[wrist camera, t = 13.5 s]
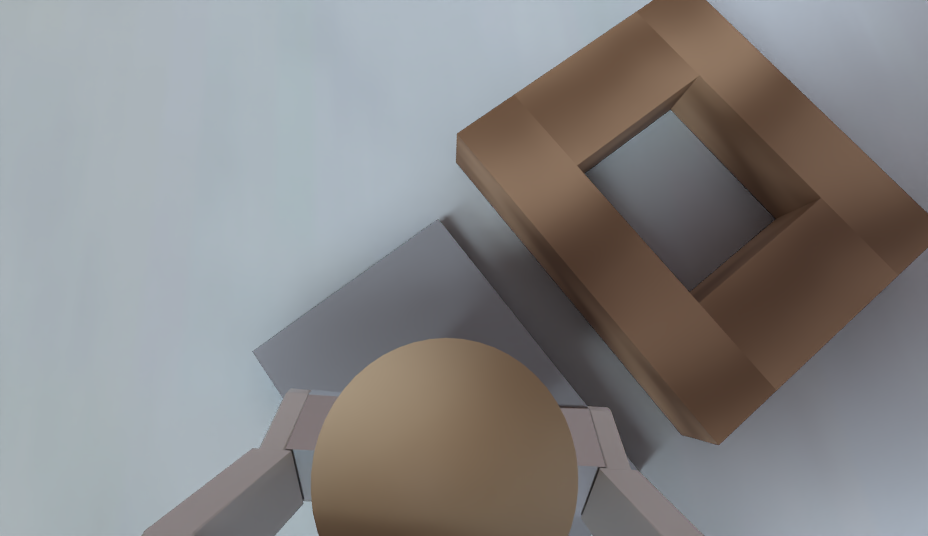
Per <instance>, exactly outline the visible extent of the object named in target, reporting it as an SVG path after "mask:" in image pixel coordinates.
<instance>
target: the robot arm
mask: <svg viewBox="0 0 928 536" xmlns="http://www.w3.org/2000/svg"><path fill="white" fill-rule="evenodd" d="M340 394H341V392H332V391H321V390H306V389H293V388H291V389H290V390H289V391H288V392H287V393H286V394H285V396H284V398H283V400H282V402H281V404H280V406H279V408H278V410H277V412H276V415H275V417H274V419H273V421H272V423H271V425H270V427H269V429H268V431H267V433H266V435H265V437H264V439H263V441H262V444H261V446H260V448H259V449H257V448H252V449H251V450H250V451H248V452H247V453H246V454H244V455H243V456H242V457H240V458H239V459H238V460H237V461H235V462H234V463H233V464H231V465H230V466H229V467H227V468H226V469H225V470H224V471H222V472H221V473H220V474H218V475H217V476H216V477H214V478H213V479H212V480H210V481H209V482H208V483H207V484H205V485H204V486H203V487H201V488H200V489H199V490H197V491H196V492H195V493H193V494H192V495H191V496H190V497H188V498H187V499H186V500H184V501H183V502H182V503H180V504H179V505H178V506H176V507H175V508H174V509H173V510H171V511H170V512H169V513H167V514H166V515H165V516H163V517H162V518H161V519H159V520H158V521H157V522H156V523H154V524H153V525H152V526H150V527H149V528H148V529H146V530H145V531H144V533H143V534H142V536H275V535H276V533H277V532H278V531H279V530H280V529H281V528H282V527H283V526H284V525H285V524H286V522H287V521H288V520H289V519H290V518H291V517H292V516H293V515H294V514H295V512H296V511H297V510H298V509H299V508H300V507H301V506H302V505H303V501H312V500H311V470H312V463H313V455H314V451H315V447H316V444H317V440H318V436H319V434H320V431H321V429H322V426H323V423H324V421H325V419H326V417H327V415H328V413H329V411H330V409H331V408H332V406H333V404H334V402H335V401H336V400H337V398H338V397H339V395H340ZM558 405H559V404H558ZM559 407H560V409H561V411H562V413H563V415H564V417H565V419H566V422H567V424H568V427H569V430H570V432H571V435H572V439H573V443H574V447H575V451H576V458H577V466H578V495H577V503H576V510H575V514H574V516H582V517H581V519H582V520H583V522H584V523H585V525H586V526H587V527H588V529H589V530H590V532H591V533H592V535H593V536H704V535H703V534H702V533H701V532H700V531H699V530H698V529H697V528H696V527H695V526H694V525H693V524H692V523H691V522H690V521H689V520H688V519H687V518H686V517H685V516H684V515H683V514H682V513H681V512H680V511H679V510H678V509H677V508H676V507H675V506H674V505H673V504H672V503H671V502H670V501H669V500H668V499H666V498H665V497H664V496H663V495H662V494H661V493H660V492H659V491H658V490H657V489H656V488H655V487H654V486H653V485H652V484H651V483H650V482H649V481H648V480H647V479H646V478H645V477H644V476H643V475H642V474H641V473H640V472H639V471H638V470H631V467H630V464H629V462H628V459H627V456H626V453H625V450H624V447H623V444H622V441H621V438H620V435H619V432H618V429H617V426H616V423H615V420H614V418H613V415H612V412H611V410H610V409H609V408H608V407H594V406H581V405H559Z"/></svg>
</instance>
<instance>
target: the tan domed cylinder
mask: <svg viewBox="0 0 928 536" xmlns="http://www.w3.org/2000/svg"><path fill="white" fill-rule="evenodd" d="M577 495H578V466H577V458H576V451H575V447H574V443H573V439H572V435H571V432H570V430H569V427H568V424H567V422H566V419H565V417H564V415H563V413H562V411H561V409H560V407H559V405H558V403H557V402H556V400H555V399H554V397H553V396H552V394H551V393H550V391H549V390H548V389H547V387H546V386H545V385H544V384H543V383H542V382H541V381H540V379H539V378H538V377H537V376H536V375H535V374H534V373H533V372H531V371H530V370H529V369H528V368H527V367H526V366H525V365H523V364H522V363H521V362H519V361H518V360H516V359H515V358H513V357H512V356H510V355H509V354H506V353H504V352H502V351H500V350H498V349H496V348H494V347H491V346H489V345H486V344H483V343H480V342H475V341H470V340H465V339H455V338H438V339H428V340H423V341H418V342H413V343H410V344H408V345H405V346H402V347H399V348H397V349H395V350H393V351H391V352H389V353H386V354H384V355H383V356H381V357H380V358H378V359H377V360H375V361H374V362H372V363H371V364H369V365H368V366H367V367H366V368H364V369H363V370H362V371H361V372H360V373H359V374H357V375H356V376H355V377H354V378H353V380H352V381H351V382H350V383H349V384H348V385H347V386H346V387H345V388H344V390H343V391H342V392H341V394H340V395H339V397H338V398H337V400H336V401H335V402H334V404H333V406H332V408H331V409H330V411H329V413H328V415H327V417H326V419H325V421H324V423H323V426H322V429H321V431H320V434H319V436H318V440H317V444H316V447H315V451H314V455H313V463H312V470H311V500H312V508H313V515H314V519H315V523H316V527H317V531H318V534H319V536H568V535H569V532H570V529H571V526H572V522H573V518H574V514H575V510H576V503H577Z"/></svg>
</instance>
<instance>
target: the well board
mask: <svg viewBox="0 0 928 536" xmlns="http://www.w3.org/2000/svg"><path fill="white" fill-rule="evenodd" d="M669 110H672V111H673V113H674V114H675V115H676V116H677V117H678V118H679V119H680V120H681V121H682V122H683V123H684V124H685V125H686V126H687V127H688V128H689V129H690V130H691V131H692V132H693V133H694V134H695V135H696V136H697V137H698V139H699V140H700V141H701V142H702V143H703V144H704V145H705V146H706V147H707V148H708V149H709V150H710V151H711V152H712V153H713V154H714V155H715V156H716V157H717V158H718V159H719V160H720V161H721V162H722V163H723V165H724V166H725V167H726V168H727V169H728V170H729V171H730V172H731V173H732V174H733V175H734V176H735V177H736V178H737V179H738V180H739V181H740V182H741V183H742V184H743V185H744V186H745V187H746V188H747V189H748V191H749V192H750V193H751V194H752V195H753V196H754V197H755V198H756V199H757V200H758V201H759V202H760V203H761V204H762V205H763V206H764V207H765V208H766V209H767V210H768V211H769V212H770V213H771V214H772V215H773V217H774V218H775V220H774V221H773V222H772V223H771V224H769V225H768V226H767V227H766V228H765V229H763V230H762V231H761V232H760V233H759V234H758V235H756V236H755V237H754V238H753V239H752V240H750V241H749V242H748V243H747V244H746V245H745V246H743V247H742V248H741V249H740V250H739V251H738V252H736V253H735V254H734V255H733V256H732V257H730V258H729V259H728V260H727V261H726V262H725V263H723V264H722V265H721V266H720V267H719V268H718V269H716V270H715V271H714V272H713V273H712V274H710V275H709V276H708V277H707V278H706V279H705V280H703V281H702V282H701V283H700V284H699V285H697V286H696V287H695V288H694V289H693V290H692V291H690V292H689V291H688V290H687V289H686V288H685V287H684V286H683V285H682V283H681V282H680V281H679V280H678V279H677V278H676V277H675V275H674V274H673V273H672V272H671V271H670V270H669V269H668V268H667V266H666V265H665V264H664V263H663V262H662V261H661V260H660V259H659V257H658V256H657V255H656V254H655V253H654V252H653V251H652V250H651V248H650V247H649V246H648V245H647V244H646V243H645V242H644V241H643V239H642V238H641V237H640V236H639V235H638V234H637V233H636V232H635V230H634V229H633V228H632V227H631V226H630V225H629V224H628V223H627V221H626V220H625V219H624V218H623V217H622V216H621V215H620V213H619V212H618V211H617V210H616V209H615V208H614V207H613V206H612V204H611V203H610V202H609V201H608V200H607V199H606V198H605V197H604V195H603V194H602V193H601V192H600V191H599V190H598V189H597V188H596V186H595V185H594V184H593V183H592V182H591V181H590V180H589V179H588V177H587V176H586V175H585V174H584V173H586V172H587V171H588V170H590V169H591V168H592V167H594V166H595V165H597V164H598V163H599V162H601V161H602V160H603V159H605V158H606V157H607V156H609V155H610V154H611V153H613V152H614V151H615V150H617V149H618V148H619V147H621V146H622V145H623V144H625V143H626V142H627V141H629V140H630V139H632V138H633V137H634V136H636V135H637V134H638V133H640V132H641V131H642V130H644V129H645V128H646V127H648V126H649V125H650V124H652V123H653V122H654V121H656V120H657V119H658V118H660V117H661V116H662V115H664V114H665V113H666V112H668V111H669ZM456 163H457V164H458V165H459V166H460V168H461V169H462V170H463V171H464V173H465V174H466V175H467V176H468V177H469V179H470V180H471V181H472V182H473V183H474V185H475V186H476V187H477V188H478V189H479V191H480V192H481V193H482V194H483V195H484V197H485V198H486V199H487V200H488V202H489V203H490V204H491V205H492V206H493V208H494V209H495V210H496V211H497V212H498V214H499V215H500V216H501V217H502V218H503V220H504V221H505V222H506V223H507V224H508V226H509V227H510V228H511V229H512V231H513V232H514V233H515V234H516V235H517V237H518V238H519V239H520V240H521V241H522V243H523V244H524V245H525V246H526V247H527V249H528V250H529V251H530V252H531V253H532V255H533V256H534V257H535V258H536V260H537V261H538V262H539V263H540V264H541V266H542V267H543V268H544V269H545V270H546V272H547V273H548V274H549V275H550V276H551V278H552V279H553V280H554V281H555V282H556V284H557V285H558V286H559V287H560V289H561V290H562V291H563V292H564V293H565V295H566V296H567V297H568V298H569V299H570V301H571V302H572V303H573V304H574V305H575V307H576V308H577V309H578V310H579V312H580V313H581V314H582V315H583V316H584V318H585V319H586V320H587V321H588V322H589V324H590V325H591V326H592V327H593V328H594V330H595V331H596V332H597V333H598V334H599V336H600V337H601V338H602V339H603V341H604V342H605V343H606V344H607V345H608V347H609V348H610V349H611V350H612V351H613V353H614V354H615V355H616V356H617V357H618V359H619V360H620V361H621V362H622V363H623V365H624V366H625V367H626V368H627V370H628V371H629V372H630V373H631V374H632V376H633V377H634V378H635V379H636V380H637V382H638V383H639V384H640V385H641V386H642V388H643V389H644V390H645V391H646V392H647V394H648V395H649V396H650V397H651V399H652V400H653V401H654V402H655V403H656V405H657V406H658V407H659V408H660V409H661V411H662V412H663V413H664V414H665V415H666V417H667V418H668V419H669V420H670V421H671V423H672V424H673V425H674V426H675V428H676V429H677V430H678V431H679V432H680V434H681V435H684V436H688V437H691V438H695V439H698V440H702V441H705V442H709V443H713V444H716V445H719V444H720V443H722V442H723V441H724V440H725V439H726V438H727V437H728V436H729V435H730V434H731V433H732V432H733V431H734V430H735V429H736V428H737V427H738V426H740V425H741V424H742V423H743V422H744V421H745V420H746V419H747V418H748V417H749V416H750V415H751V414H752V413H753V412H754V411H755V410H756V409H757V408H759V407H760V406H761V405H762V404H763V403H764V402H765V401H766V400H767V399H768V398H769V397H770V396H771V395H772V394H773V393H774V392H775V391H777V390H778V389H779V388H780V387H781V386H782V385H783V384H784V383H785V382H786V381H787V380H788V379H789V378H790V377H791V376H792V375H793V374H795V373H796V372H797V371H798V370H799V369H800V368H801V367H802V366H803V365H804V364H805V363H806V362H807V361H808V360H809V359H810V358H811V357H812V356H814V355H815V354H816V353H817V352H818V351H819V350H820V349H821V348H822V347H823V346H824V345H825V344H826V343H827V342H828V341H829V340H830V339H832V338H833V337H834V336H835V335H836V334H837V333H838V332H839V331H840V330H841V329H842V328H843V327H844V326H845V325H846V324H847V323H848V322H850V321H851V320H852V319H853V318H854V317H855V316H856V315H857V314H858V313H859V312H860V311H861V310H862V309H863V308H864V307H865V306H866V305H867V304H869V303H870V302H871V301H872V300H873V299H874V298H875V297H876V296H877V295H878V294H879V293H880V292H881V291H882V290H883V289H884V288H885V287H887V286H888V285H889V284H890V283H891V282H892V281H893V280H894V279H895V278H896V277H897V276H898V275H899V274H900V273H901V272H902V271H903V270H905V269H906V268H907V267H908V266H909V265H910V264H911V263H912V262H913V261H914V260H915V259H916V258H917V257H918V256H919V255H920V254H921V253H923V252H924V251H925V250H926V249H927V248H928V213H927V212H926V211H925V210H924V209H922V208H921V207H920V206H919V205H918V204H917V203H916V202H915V201H914V200H913V199H912V198H911V197H910V196H909V195H908V194H907V193H906V192H905V191H904V190H903V189H902V188H901V187H900V186H899V185H898V184H897V183H895V182H894V181H893V180H892V179H891V178H890V177H889V176H888V175H887V174H886V173H885V172H884V171H883V170H882V169H881V168H880V167H879V166H878V165H877V164H876V163H875V162H874V161H873V160H872V159H871V158H869V157H868V156H867V155H866V154H865V153H864V152H863V151H862V150H861V149H860V148H859V147H858V146H857V145H856V144H855V143H854V142H853V141H852V140H851V139H850V138H849V137H848V136H847V135H846V134H845V133H844V132H842V131H841V130H840V129H839V128H838V127H837V126H836V125H835V124H834V123H833V122H832V121H831V120H830V119H829V118H828V117H827V116H826V115H825V114H824V113H823V112H822V111H821V110H820V109H819V108H818V107H816V106H815V105H814V104H813V103H812V102H811V101H810V100H809V99H808V98H807V97H806V96H805V95H804V94H803V93H802V92H801V91H800V90H799V89H798V88H797V87H796V86H795V85H794V84H793V83H792V82H791V81H789V80H788V79H787V78H786V77H785V76H784V75H783V74H782V73H781V72H780V71H779V70H778V69H777V68H776V67H775V66H774V65H773V64H772V63H771V62H770V61H769V60H768V59H767V58H766V57H765V56H763V55H762V54H761V53H760V52H759V51H758V50H757V49H756V48H755V47H754V46H753V45H752V44H751V43H750V42H749V41H748V40H747V39H746V38H745V37H744V36H743V35H742V34H741V33H740V32H739V31H738V30H736V29H735V28H734V27H733V26H732V25H731V24H730V23H729V22H728V21H727V20H726V19H725V18H724V17H723V16H722V15H721V14H720V13H719V12H718V11H717V10H716V9H715V8H714V7H713V6H712V5H710V4H709V3H708V2H707V1H706V0H653V1H651V2H650V3H649V4H647V5H646V6H644V7H643V8H641V9H640V10H638V11H637V12H635V13H634V14H632V15H631V16H629V17H628V18H626V19H625V20H623V21H622V22H621V23H619V24H618V25H616V26H615V27H613V28H612V29H610V30H609V31H607V32H606V33H604V34H603V35H601V36H600V37H598V38H597V39H596V40H594V41H593V42H591V43H590V44H588V45H587V46H585V47H584V48H582V49H581V50H579V51H578V52H576V53H575V54H573V55H572V56H570V57H569V58H568V59H566V60H565V61H563V62H562V63H560V64H559V65H557V66H556V67H554V68H553V69H551V70H550V71H548V72H547V73H545V74H544V75H543V76H541V77H540V78H538V79H537V80H535V81H534V82H532V83H531V84H529V85H528V86H526V87H525V88H523V89H522V90H520V91H519V92H517V93H516V94H515V95H513V96H512V97H510V98H509V99H507V100H506V101H504V102H503V103H501V104H500V105H498V106H497V107H495V108H494V109H492V110H491V111H490V112H488V113H487V114H485V115H484V116H482V117H481V118H479V119H478V120H476V121H475V122H473V123H472V124H470V125H469V126H467V127H466V128H464V129H463V130H462V131H460V132H459V133H457V149H456Z"/></svg>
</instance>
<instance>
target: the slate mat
mask: <svg viewBox="0 0 928 536" xmlns="http://www.w3.org/2000/svg"><path fill="white" fill-rule="evenodd" d="M438 338H455V339H465V340H470V341H475V342H480V343H483V344H486V345H489V346H491V347H494V348H496V349H498V350H500V351H502V352H504V353H506V354H509V355H510V356H512V357H513V358H515V359H516V360H518V361H519V362H521V363H522V364H523V365H525V366H526V367H527V368H528V369H529V370H530V371H531V372H533V373H534V374H535V375H536V376H537V377H538V378H539V379H540V381H541V382H542V383H543V384H544V385H545V386H546V387H547V389H548V390H549V391H550V393H551V394H552V396H553V397H554V399H555V400H556V402H557V403H558V404H559V405H581V406H587V405H586V404H585V403H584V401H583V400H582V399H581V398H580V396H579V395H578V394H577V393H576V391H575V390H574V389H573V388H572V386H571V385H570V384H569V383H568V381H567V380H566V379H565V378H564V376H563V375H562V374H561V373H560V371H559V370H558V369H557V368H556V366H555V365H554V364H553V362H552V361H551V360H550V359H549V357H548V356H547V355H546V354H545V352H544V351H543V350H542V349H541V347H540V346H539V345H538V344H537V342H536V341H535V340H534V339H533V337H532V336H531V335H530V334H529V332H528V331H527V330H526V329H525V327H524V326H523V325H522V324H521V322H520V321H519V320H518V318H517V317H516V316H515V315H514V313H513V312H512V311H511V310H510V308H509V307H508V306H507V305H506V303H505V302H504V301H503V300H502V298H501V297H500V296H499V295H498V293H497V292H496V291H495V290H494V288H493V287H492V286H491V285H490V283H489V282H488V281H487V280H486V278H485V277H484V276H483V274H482V273H481V272H480V271H479V269H478V268H477V267H476V266H475V264H474V263H473V262H472V261H471V259H470V258H469V257H468V256H467V254H466V253H465V252H464V251H463V249H462V248H461V247H460V246H459V244H458V243H457V242H456V241H455V239H454V238H453V237H452V236H451V234H450V233H449V232H448V231H447V229H446V228H445V227H444V225H443V224H442V223H441V222H440V220H439V219H437V220H436V221H434V222H433V223H432V224H430V225H429V226H427V227H426V228H425V229H423V230H422V231H420V232H419V233H418V234H416V235H415V236H413V237H412V238H411V239H409V240H408V241H406V242H405V243H404V244H402V245H401V246H399V247H398V248H397V249H395V250H394V251H392V252H391V253H390V254H388V255H387V256H385V257H384V258H383V259H381V260H380V261H378V262H377V263H376V264H374V265H373V266H371V267H370V268H369V269H367V270H366V271H364V272H363V273H362V274H360V275H359V276H357V277H356V278H355V279H353V280H352V281H350V282H349V283H348V284H346V285H345V286H343V287H342V288H341V289H339V290H338V291H336V292H335V293H334V294H332V295H331V296H329V297H328V298H327V299H325V300H324V301H322V302H321V303H319V304H318V305H317V306H315V307H314V308H312V309H311V310H310V311H308V312H307V313H305V314H304V315H303V316H301V317H300V318H298V319H297V320H296V321H294V322H293V323H291V324H290V325H289V326H287V327H286V328H284V329H283V330H282V331H280V332H279V333H277V334H276V335H275V336H273V337H272V338H270V339H269V340H268V341H266V342H265V343H263V344H262V345H261V346H259V347H258V348H256V349H255V350H254V351H252V352H253V353H254V355H255V356H256V358H257V359H258V361H259V363H260V364H261V366H262V367H263V369H264V370H265V372H266V373H267V375H268V376H269V378H270V379H271V381H272V382H273V384H274V385H275V387H276V388H277V390H278V391H279V393H280V394H281V396H282V397H283V398H284V396H285V394H286V393H287V392H288V391H289V390H290V389H291V388H293V389H306V390H321V391H332V392H342V391H343V390H344V388H345V387H346V386H347V385H348V384H349V383H350V382H351V381H352V380H353V378H354V377H355V376H356V375H357V374H359V373H360V372H361V371H362V370H363V369H364V368H366V367H367V366H368V365H369V364H371V363H372V362H374V361H375V360H377V359H378V358H380V357H381V356H383V355H384V354H386V353H389V352H391V351H393V350H395V349H397V348H399V347H402V346H405V345H408V344H410V343H413V342H418V341H423V340H428V339H438ZM627 459H628V462H629V464H630V467H631V470H638V469H637V468H636V467H635V466H634V464H633V463H632V462H631V461H630V459H629V458H628V457H627ZM581 517H582V516H574V518H573V522H572V526H571V529H570V532H569V535H568V536H591V535H592V533H591V532H590V530H589V529H588V527H587V526H586V525H585V523H584V522H583V520H582V519H581Z"/></svg>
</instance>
